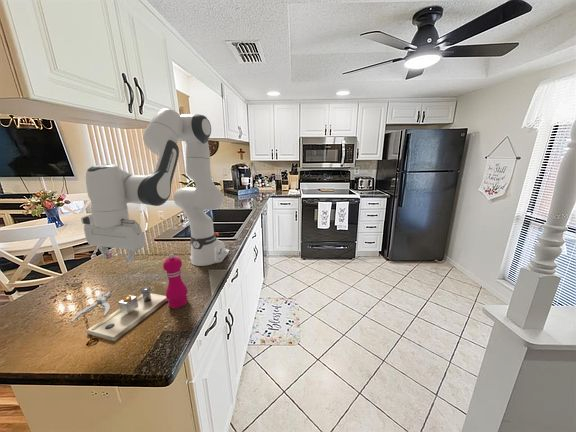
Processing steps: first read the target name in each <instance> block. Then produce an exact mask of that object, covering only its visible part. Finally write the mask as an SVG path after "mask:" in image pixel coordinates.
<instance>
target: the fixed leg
mask: <svg viewBox="0 0 576 432" xmlns="http://www.w3.org/2000/svg"><path fill="white" fill-rule="evenodd" d="M151 290H152V288H151V286H144V287H142V288H141V289H140V293H141V295H142V294H143V299H144V300H146V301H148V300H149V299H150V298H151V294H150V293H151Z"/></svg>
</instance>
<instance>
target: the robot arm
mask: <svg viewBox="0 0 576 432" xmlns="http://www.w3.org/2000/svg"><path fill="white" fill-rule="evenodd" d="M211 133H212V125H211V122H210V120H209V119H208V117H207V116H205V115H204V114H199V113H198V114H197V113H196V114H190V113H182V114H179V113H178V112H177V111H175V110H174V109H171V108H162V109H160V110H159V111H158V112H157V113H156V114H155V115H154V116H153V117H152V118H151V120H150V122H149V123H148V125H147V126H146V128H145V129H144V131H143V135H142V140H143V143H144V144H145V146H146V148H147V149H149V151H151V152H152V153H153V154H155V155H157V156H159V157H158V159H157V163H156V165H155V167H154V170H153V171H152V172H151V173H148V174H132V173H130V172H127V171H125V170H123V169H122V168H120V167H119V166H118V165H117V164H113V163H112V164H111V163H108V164H97V165H93V166H90V167H89V168H87V169H86V171H85V172H86V173H85V185H86V186H85V187H86V191H87V196H88V198H89V200H90V203H91V206H90V211H91V212H90V213H91V214H88V215H85V216H82V217H81V218H80V220H81V223H82V225H83V232H84V236H85V240H86V242H87V243H88V245H90V246H97V247H98V250H99V252H100V253H101V254H102V258H103V259H106V260H110V259H112V258H113V255H112V254H113V253H112V251H111V252H110V249H117V250H118V249H120V250H125V251H126V253H127V255H126V256H125V257H124V258H125V262H127V263H132V262H134V261H135V254H136V251H138V250H141V249H143V248H144V247H145V246H146V240H145V235H144V233H143V229H142V227H141V226H140V224H139V223H138V222H137V221H136V220H134V219H130V215H129V210H128V209H129V207H128V205H127V204H137V205H146V206H147V205H149V206H153V207H154V206H155V207H159V206H162V205H164V204H165V203H167V201H168V200H169V199H170V196H171V194H172V183H173V178H174V176H175V175H174V174H175V171H176V168H177V163H178V160H179V155H180V149H179V146H178V142H185V144H186V149H185V171H186V172H185V173H186V176H188V177H189V178H190V179H191V180H193V182H194V184H195V186H192V187H191V186H186V187H181V188H177V190H175V192H174V194H173V201H174V203H175V205H176V206H177V207H179V208H180V209H181V211H182V212H183V213H184V214H185V216H186V218H187V221H188V224H189V229H190V243H191V245H190V256H189V259H190V263H191V265H192V266H197V267H204V266H210V265H213V264H219V263H221V262H223V260H224V259H225V258H226V257H227V256H228V254H229V253H230V252H229V251H230V249H229V248H226V245H225V243H224V241H221V240H219V239H217V237H219V236H220V235H219V234H220V232H215V230H214V221H213V219H212V218H211V217H210V216H209V215H207V213H206V212H205V210H206V211H211V210H218V209H220V208H222V206H223V204H224V202H225V201H224V200H225V198H224V194H223V192H222V191H221V190H220V189H219V188H218V187H217V186H216V185H215V182H214V180H213V178H212V177H213V176H212V173H211V152H210V147H209V139H210V137H211ZM109 248H110V249H109Z"/></svg>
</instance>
